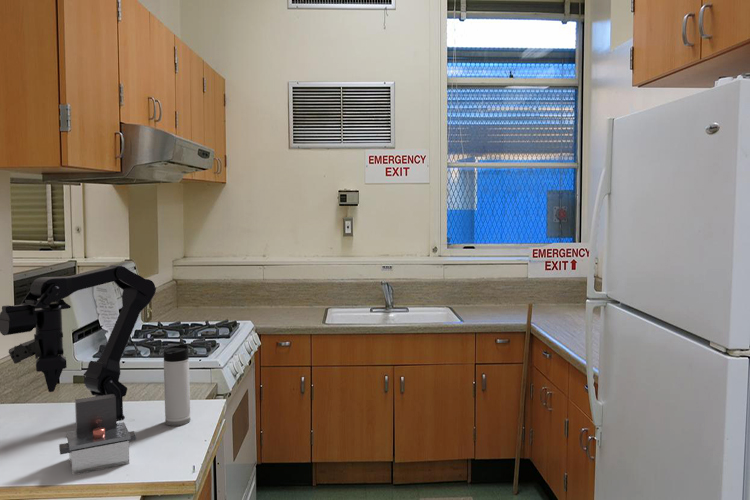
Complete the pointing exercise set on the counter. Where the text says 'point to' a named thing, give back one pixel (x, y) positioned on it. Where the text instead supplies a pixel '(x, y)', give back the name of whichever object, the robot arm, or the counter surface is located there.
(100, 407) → the lid
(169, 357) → the travel mug
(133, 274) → the robot arm
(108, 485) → the counter surface
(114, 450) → the grey box with handles
